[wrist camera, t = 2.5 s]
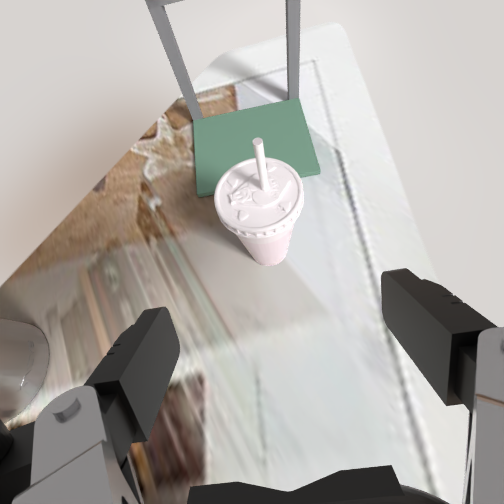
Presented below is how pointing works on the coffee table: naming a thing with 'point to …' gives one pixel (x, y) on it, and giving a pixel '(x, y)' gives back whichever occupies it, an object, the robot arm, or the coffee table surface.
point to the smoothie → (260, 204)
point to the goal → (244, 114)
